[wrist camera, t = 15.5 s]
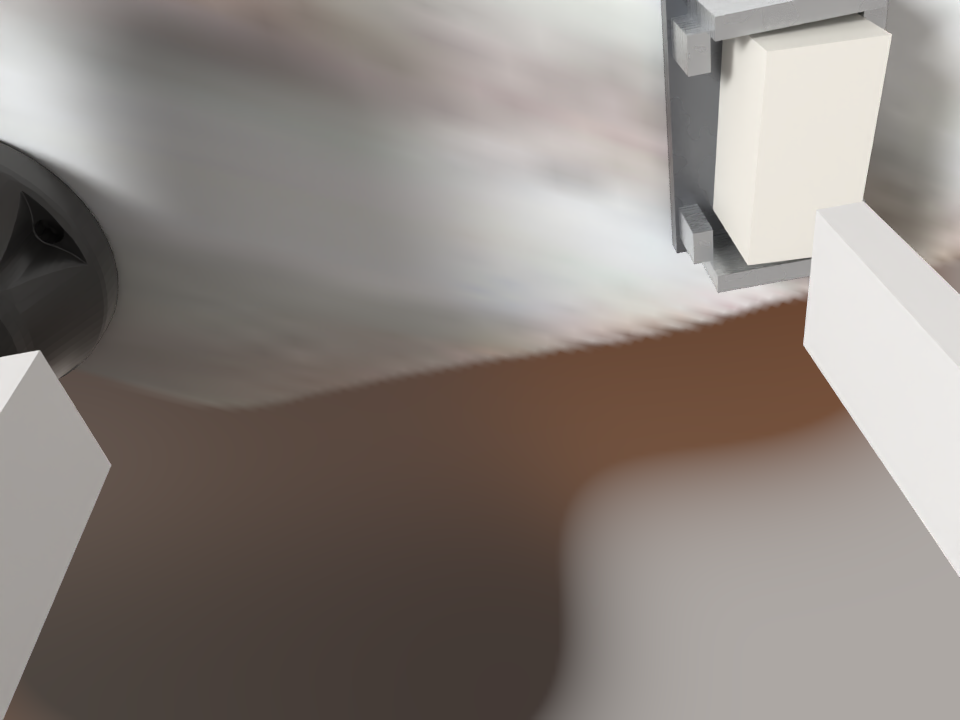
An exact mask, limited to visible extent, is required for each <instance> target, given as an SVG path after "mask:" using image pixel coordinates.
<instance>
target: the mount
mask: <svg viewBox="0 0 960 720" xmlns="http://www.w3.org/2000/svg"><path fill="white" fill-rule="evenodd" d="M888 2H889V0H661V11H662V32H663V53H664V74H665V95H666V116H667V137H668V158H669V179H670V200H671V220H672V241H673V246H674V248H675V250H676V252H677V253H680V252H686V251H688V253H689V255H690V257H691V259H692V261H693V263H694V264H698V263H702V264H703V266H704V268H705V270H706V271H707V273H708V275H709V277H710V279H711V281H712V283H713V285H714V286H715V288H716V290H717V292H718V293H719V292H725V291H730V290H736V289H741V288H747V287H752V286H758V285H763V284H769V283H774V282H780V281H786V280H791V279H797V278H802V277H808V276H810V270H811V259H812V257H809V258H801V259H793V260H786V261H778V262H770V263H762V264H755V265H747V263H746V261H745V260H744V258H743V257H742V255H741V253H740V252H739V250H738V249H737V247H736V245H735V244H734V242H733V241H732V239H731V237H730V236H729V234H728V233H727V231H726V229H725V228H724V226H723V225H722V223H721V221H720V220H719V218H718V217H717V215H716V213H715V212H714V210H713V200H714V183H715V165H716V148H717V131H718V113H719V96H720V79H721V61H722V44H723V40H725V39H730V38H735V37H740V36H745V35H750V34H755V33H760V32H765V31H770V30H775V29H780V28H785V27H789V26H794V25H799V24H804V23H809V22H814V21H819V20H824V19H829V18H834V17H839V16H844V15H849V14H853V13H857V14H859V15H861V16H862V17H864V18H866V19H867V20H869V21H871V22H872V23H874V24H876V25H877V26H879V27H881V28H882V29H884V30H885V28H886V19H887V11H888ZM863 201H864V202H865V203H866V201H865V200H864V199H863Z"/></svg>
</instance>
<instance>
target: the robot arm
mask: <svg viewBox="0 0 960 720" xmlns="http://www.w3.org/2000/svg"><path fill="white" fill-rule="evenodd" d="M117 296H118V276H117V269H116V265H115V260H114V257H113V254H112V251H111V248H110V246H109V243H108V241H107V239H106V237H105V235H104V233H103V231H102V229H101V227H100V226H99V224H98V223H97V221H96V219H95V218H94V216H93V215H92V214H91V212H90V211H89V210H88V208H87V207H86V206H85V205H84V203H83V202H82V201H81V200H80V199H79V198H78V197H77V196H76V195H75V193H74V192H73V191H72V190H71V189H70V188H69V187H68V186H66V185H65V184H64V183H63V182H62V181H61V180H60V179H59V178H57V177H56V176H55V175H54V174H52V173H51V172H50V171H49V170H47V169H46V168H44V167H43V166H42V165H40V164H39V163H37V162H36V161H34V160H33V159H31V158H30V157H28V156H26V155H24V154H23V153H21V152H19V151H17V150H15V149H13V148H11V147H9V146H7V145H5V144H3V143H1V142H0V720H3V718H4V716H5V713H6V711H7V708H8V706H9V704H10V701H11V699H12V697H13V695H14V692H15V690H16V688H17V685H18V683H19V681H20V678H21V676H22V673H23V671H24V669H25V666H26V663H27V662H28V659H29V657H30V655H31V652H32V650H33V648H34V645H35V643H36V640H37V638H38V636H39V634H40V631H41V629H42V627H43V624H44V622H45V619H46V617H47V615H48V612H49V610H50V608H51V605H52V603H53V601H54V598H55V596H56V594H57V591H58V589H59V587H60V584H61V582H62V580H63V577H64V575H65V572H66V570H67V568H68V565H69V563H70V561H71V558H72V556H73V554H74V551H75V549H76V547H77V544H78V542H79V540H80V537H81V535H82V533H83V530H84V528H85V526H86V523H87V521H88V518H89V516H90V514H91V511H92V509H93V507H94V504H95V502H96V500H97V497H98V495H99V493H100V490H101V488H102V485H103V483H104V481H105V478H106V476H107V474H108V472H109V469H110V467H111V464H110V462H109V461H108V459H107V457H106V456H105V454H104V452H103V451H102V449H101V448H100V446H99V444H98V443H97V441H96V440H95V438H94V437H93V435H92V433H91V432H90V430H89V428H88V427H87V425H86V424H85V422H84V420H83V419H82V417H81V415H80V414H79V412H78V411H77V409H76V407H75V406H74V404H73V402H72V401H71V399H70V398H69V396H68V394H67V393H66V391H65V390H64V388H63V386H62V385H61V383H60V382H59V380H58V379H59V378H61V377H63V376H65V375H66V374H68V373H69V372H71V371H72V370H74V369H75V368H76V367H77V366H79V365H80V364H81V363H82V362H83V361H84V360H85V359H86V358H87V357H88V356H89V354H90V353H91V352H92V351H93V349H94V348H95V346H96V345H97V343H98V342H99V340H100V338H101V336H102V335H103V333H104V331H105V330H106V328H107V326H108V324H109V322H110V320H111V318H112V316H113V313H114V310H115V307H116V303H117ZM803 345H804V347H805V348H806V349H807V351H808V353H809V354H810V356H811V357H812V359H813V360H814V361H815V363H816V365H817V366H818V367H819V369H820V370H821V372H822V373H823V375H824V376H825V378H826V379H827V381H828V382H829V384H830V385H831V387H832V388H833V390H834V391H835V393H836V394H837V396H838V397H839V399H840V400H841V402H842V403H843V405H844V406H845V408H846V409H847V411H848V412H849V414H850V415H851V417H852V418H853V420H854V421H855V422H856V424H857V425H858V427H859V428H860V430H861V431H862V433H863V434H864V436H865V437H866V439H867V440H868V442H869V443H870V445H871V446H872V448H873V449H874V451H875V452H876V454H877V455H878V457H879V458H880V459H881V461H882V463H883V464H884V465H885V467H886V469H887V470H888V471H889V473H890V475H891V476H892V477H893V479H894V480H895V482H896V483H897V485H898V486H899V487H900V489H901V491H902V492H903V494H904V495H905V497H906V498H907V500H908V501H909V503H910V504H911V506H912V507H913V508H914V510H915V511H916V513H917V515H918V516H919V518H920V519H921V521H922V522H923V524H924V525H925V527H926V528H927V530H928V531H929V533H930V534H931V535H932V537H933V538H934V540H935V541H936V543H937V544H938V546H939V547H940V549H941V550H942V552H943V553H944V555H945V556H946V558H947V559H948V561H949V562H950V564H951V565H952V567H953V568H954V570H955V571H956V573H957V574H958V575H959V577H960V294H959V293H958V292H957V291H956V290H955V289H953V288H952V287H951V286H950V285H949V284H948V283H947V282H946V281H945V280H944V279H943V278H942V277H941V276H940V275H939V274H938V273H937V272H936V271H935V270H934V269H933V268H932V267H931V266H930V265H929V264H928V263H927V262H926V261H925V260H924V259H923V258H922V257H921V256H920V255H918V254H917V253H916V252H915V251H914V250H913V249H912V248H911V247H910V246H909V245H908V244H907V243H906V242H905V241H904V240H903V239H902V238H901V237H900V236H899V235H898V234H897V233H896V232H895V231H894V230H893V229H892V228H891V227H890V226H889V225H888V224H887V223H886V222H885V221H883V220H882V219H881V218H880V217H879V216H878V215H877V214H876V213H875V212H874V211H873V210H872V209H871V208H870V207H869V206H868V205H867V204H866V203H865V202H864V201H862V202H857V203H851V204H846V205H840V206H835V207H829V208H823V209H818V210H816V217H815V228H814V238H813V249H812V259H811V270H810V280H809V291H808V302H807V313H806V323H805V333H804V344H803Z"/></svg>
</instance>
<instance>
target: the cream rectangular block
mask: <svg viewBox="0 0 960 720" xmlns="http://www.w3.org/2000/svg"><path fill="white" fill-rule="evenodd" d="M891 39H892V34H891V33H889V32H887V31H886V30H884V29H882V28H881V27H879V26H877V25H876V24H874V23H872V22H871V21H869V20H867V19H866V18H864V17H862V16H861V15H859V14H857V13H853V14H849V15H844V16H839V17H834V18H829V19H824V20H819V21H814V22H809V23H804V24H799V25H794V26H789V27H785V28H780V29H775V30H770V31H765V32H760V33H755V34H750V35H745V36H740V37H735V38H730V39H725V40H723V44H722V61H721V79H720V96H719V113H718V131H717V148H716V165H715V183H714V200H713V210H714V212H715V213H716V215H717V217H718V218H719V220H720V221H721V223H722V225H723V226H724V228H725V229H726V231H727V233H728V234H729V236H730V237H731V239H732V241H733V242H734V244H735V245H736V247H737V249H738V250H739V252H740V253H741V255H742V257H743V258H744V260H745V261H746V263H747V265H755V264H762V263H770V262H778V261H786V260H793V259H801V258H809V257H812V249H813V238H814V228H815V217H816V210H818V209H823V208H829V207H835V206H840V205H846V204H851V203H857V202H862V201H863V195H864V189H865V184H866V178H867V173H868V167H869V162H870V156H871V150H872V145H873V139H874V134H875V128H876V122H877V117H878V111H879V106H880V100H881V95H882V89H883V83H884V78H885V72H886V67H887V61H888V55H889V50H890V44H891Z"/></svg>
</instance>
